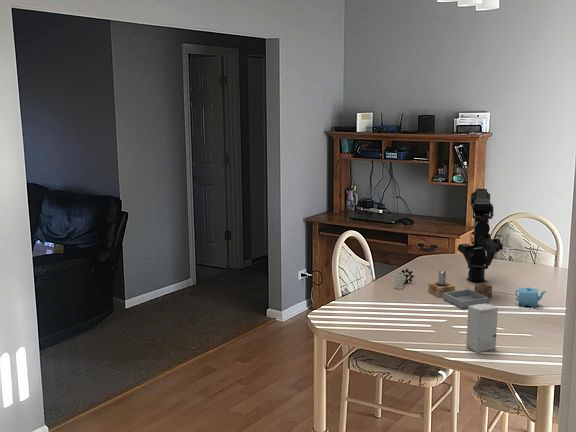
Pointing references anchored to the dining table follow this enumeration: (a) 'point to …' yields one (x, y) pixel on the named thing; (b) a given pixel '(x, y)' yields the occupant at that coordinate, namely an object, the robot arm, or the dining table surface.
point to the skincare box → (481, 327)
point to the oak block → (440, 289)
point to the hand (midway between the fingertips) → (479, 266)
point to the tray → (465, 298)
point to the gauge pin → (441, 278)
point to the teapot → (528, 296)
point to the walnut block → (484, 289)
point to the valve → (402, 279)
